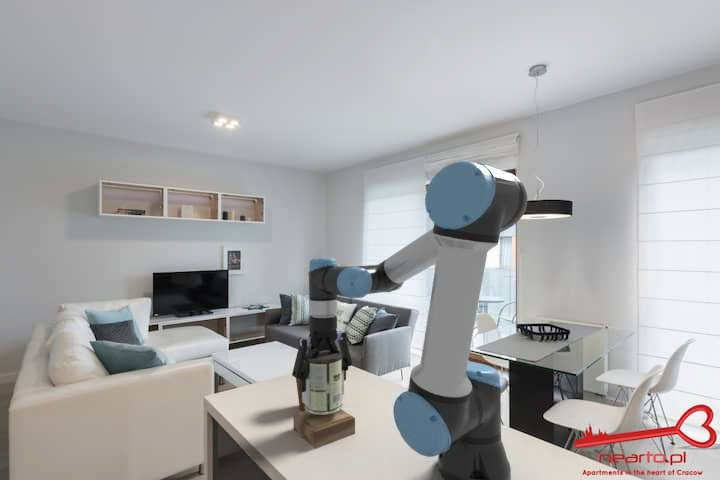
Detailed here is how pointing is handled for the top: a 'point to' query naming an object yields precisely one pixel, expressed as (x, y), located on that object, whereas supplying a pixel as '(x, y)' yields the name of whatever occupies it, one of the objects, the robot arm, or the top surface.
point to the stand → (324, 427)
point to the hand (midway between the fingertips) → (323, 398)
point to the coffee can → (325, 383)
